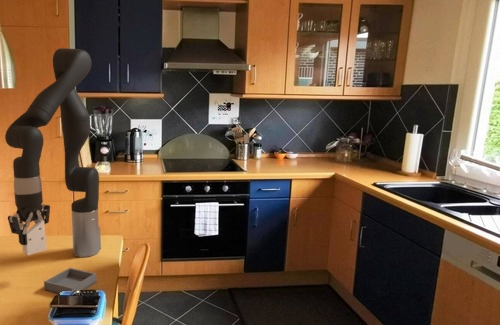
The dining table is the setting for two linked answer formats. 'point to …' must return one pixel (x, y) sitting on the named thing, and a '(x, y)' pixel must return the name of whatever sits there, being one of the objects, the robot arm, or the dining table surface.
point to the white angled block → (35, 239)
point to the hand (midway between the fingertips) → (32, 240)
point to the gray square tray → (70, 281)
